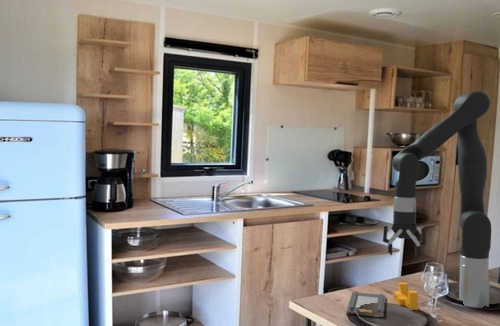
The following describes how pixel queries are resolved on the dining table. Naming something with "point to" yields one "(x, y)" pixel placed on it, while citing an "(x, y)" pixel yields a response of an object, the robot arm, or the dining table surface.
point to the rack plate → (364, 301)
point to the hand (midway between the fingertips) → (403, 255)
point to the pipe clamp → (406, 296)
